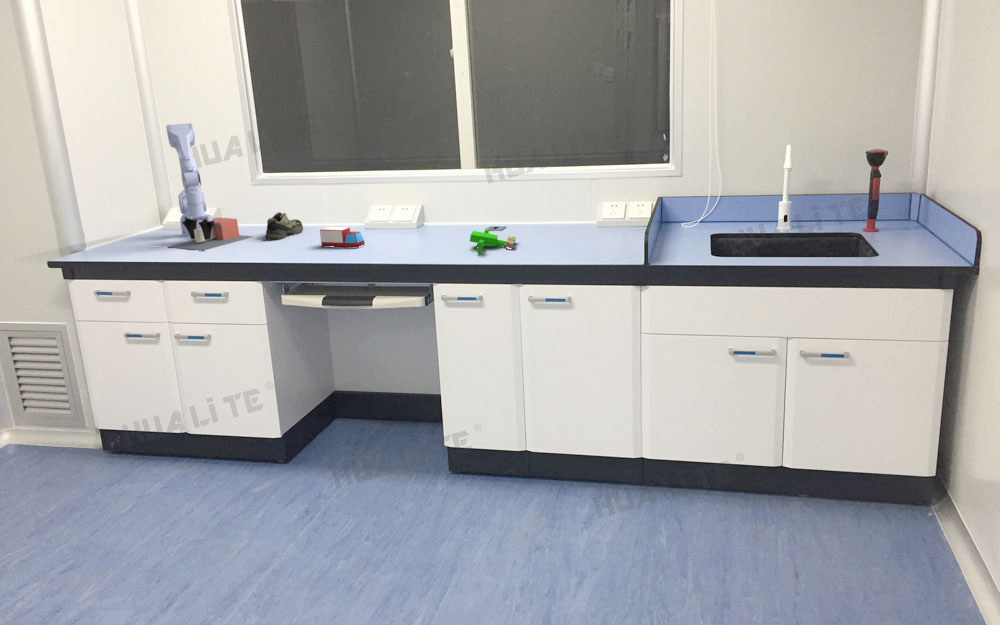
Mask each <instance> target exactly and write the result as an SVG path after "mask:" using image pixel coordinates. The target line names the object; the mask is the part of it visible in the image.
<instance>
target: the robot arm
mask: <svg viewBox="0 0 1000 625" xmlns="http://www.w3.org/2000/svg"><path fill="white" fill-rule="evenodd" d="M165 128H166V133H167V138H168V143H169V145H170V147H171V148H174V149H175V151H176V153H177V154H178V161H179V167H180V173H181V182H182V186H183V190H182V191H181V192H180V193H179V194H178V204H179V210H180V213H181V214H182V215H181V216H180V220H179V222H180V228H181V234H182V235H180V237H185V238H191V239H192V240H195V234H194V229H198V228H202V231H203V235H204V239H205V240H208V239H210V237H211V229H212V226H213V224H214V221H213V218H214V217H213V215H211V214H206V212H207V209H208V208H207V202H206V198H205V194H204V193H203V191H202V188H201V187H202V178H201V174H200V171H199V168H198V166H197V161H196V159H195V156H193V155H192V154H191V153H192V152H191V147H193V146H195V143H196V135H195V134H196V133H195V128H194V124H193V123H192V122H190V123H179V124H177V123H176V124H167V125H166V127H165ZM201 221H203V222H201Z"/></svg>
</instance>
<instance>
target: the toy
mask: <svg viewBox="0 0 1000 625" xmlns="http://www.w3.org/2000/svg"><path fill="white" fill-rule="evenodd" d="M498 236H499V235H498V234H495V233H494V234H493V233H490V229H489V228H485V229H484V232H482V231H476V230H472V232H471V233H470V237H469V242H471V243H475V244H476V247H478V249H476V250H477V251H476V253H477V254H480V253H482V252H483V247H484V245H487V246H492V247H495V246H497V247H502V246H506V247H509V248H513V249H514V247H513V246H515V244H514V243H515V242H516V239H517V237H516V236H508V237H507V239H506V240H501V239H498ZM481 251H482V252H481Z"/></svg>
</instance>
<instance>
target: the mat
mask: <svg viewBox="0 0 1000 625" xmlns="http://www.w3.org/2000/svg"><path fill="white" fill-rule="evenodd" d="M251 238H255V236H252V235H240V234H239V236H237V237H233V238H230V239H226V240H217V239H216V238H214V239H210V240H206V241H202V242H196V240H195V239H192V240H188V241H184V242H182V243H177V244H176V243H175V244H172V245H168V246H167V248H169V249H177V250H185V251H187V250H188V251H195V250H201V251H200V252H205V251H208V250H211V249H215V248H218V247H223V246H226V245H229V244H233V243H236V242H240V241H244V240H247V239H251Z"/></svg>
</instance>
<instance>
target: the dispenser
mask: <svg viewBox="0 0 1000 625" xmlns="http://www.w3.org/2000/svg"><path fill="white" fill-rule="evenodd" d="M212 218H213V221H214V224H213V225H214V226H215V232H216V239H217V240H226V239H230V238H233V237H237V236H239V235H240V233H239V232H240V230H239V225H238V219H237V218H229V217H228V218H227V217H218V216H217V217H212ZM201 222H203V221H201Z"/></svg>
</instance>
